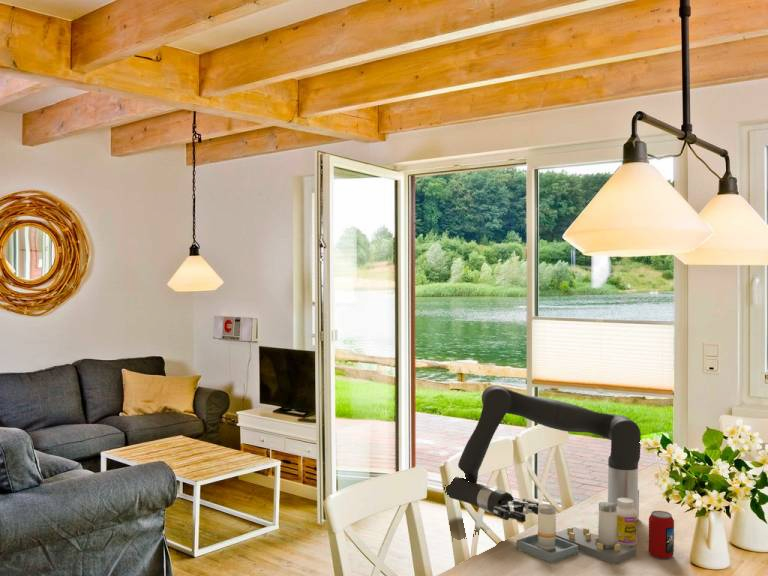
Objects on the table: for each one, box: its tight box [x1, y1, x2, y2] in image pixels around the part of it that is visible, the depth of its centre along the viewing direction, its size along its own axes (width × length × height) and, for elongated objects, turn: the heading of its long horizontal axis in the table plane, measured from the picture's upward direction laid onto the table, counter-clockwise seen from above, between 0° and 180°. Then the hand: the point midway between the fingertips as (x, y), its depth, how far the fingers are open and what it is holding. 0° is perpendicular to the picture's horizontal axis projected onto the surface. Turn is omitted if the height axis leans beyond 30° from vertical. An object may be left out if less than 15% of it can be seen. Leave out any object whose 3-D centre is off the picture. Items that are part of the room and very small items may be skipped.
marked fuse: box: [537, 503, 557, 552], centre depth 210 cm, size 5×5×12 cm
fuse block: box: [556, 526, 637, 565], centre depth 213 cm, size 10×22×4 cm, turn 36°
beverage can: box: [647, 510, 675, 560], centre depth 207 cm, size 7×7×12 cm
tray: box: [515, 533, 579, 564], centre depth 210 cm, size 11×13×2 cm
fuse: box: [597, 501, 617, 550], centre depth 209 cm, size 5×5×12 cm
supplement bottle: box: [617, 498, 638, 547], centre depth 217 cm, size 7×7×13 cm
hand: (534, 515), depth 214 cm, fingers open, 8 cm apart
